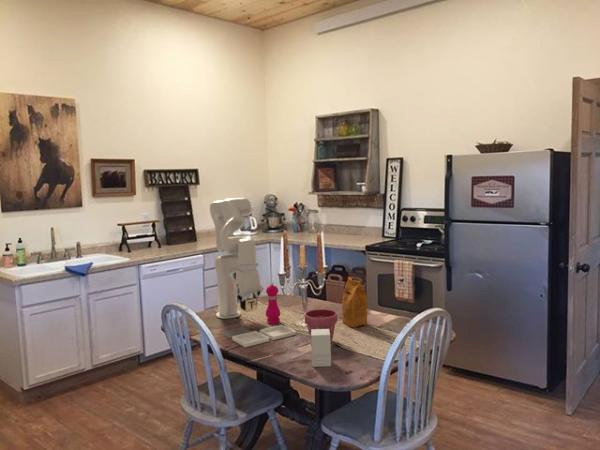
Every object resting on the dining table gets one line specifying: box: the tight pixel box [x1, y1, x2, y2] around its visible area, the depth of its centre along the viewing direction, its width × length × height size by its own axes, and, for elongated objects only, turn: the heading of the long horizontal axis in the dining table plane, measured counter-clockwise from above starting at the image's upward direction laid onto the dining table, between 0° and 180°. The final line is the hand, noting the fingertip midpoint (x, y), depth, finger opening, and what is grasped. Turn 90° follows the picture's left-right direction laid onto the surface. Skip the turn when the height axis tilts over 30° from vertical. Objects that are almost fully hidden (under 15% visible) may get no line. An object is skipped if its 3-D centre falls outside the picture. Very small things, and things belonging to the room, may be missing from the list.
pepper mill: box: [265, 282, 281, 325], centre depth 252 cm, size 7×7×20 cm
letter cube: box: [241, 296, 258, 313], centre depth 225 cm, size 5×5×5 cm
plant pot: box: [304, 308, 338, 344], centre depth 223 cm, size 14×14×13 cm
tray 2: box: [259, 324, 297, 341], centre depth 234 cm, size 12×12×2 cm
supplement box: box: [310, 329, 332, 368], centre depth 199 cm, size 7×7×13 cm
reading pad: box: [219, 326, 253, 339], centre depth 238 cm, size 10×12×1 cm
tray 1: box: [231, 330, 270, 348], centre depth 227 cm, size 12×12×2 cm
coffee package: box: [341, 276, 368, 328], centre depth 245 cm, size 10×12×22 cm
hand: (249, 307), depth 225 cm, fingers closed on letter cube, 4 cm apart
